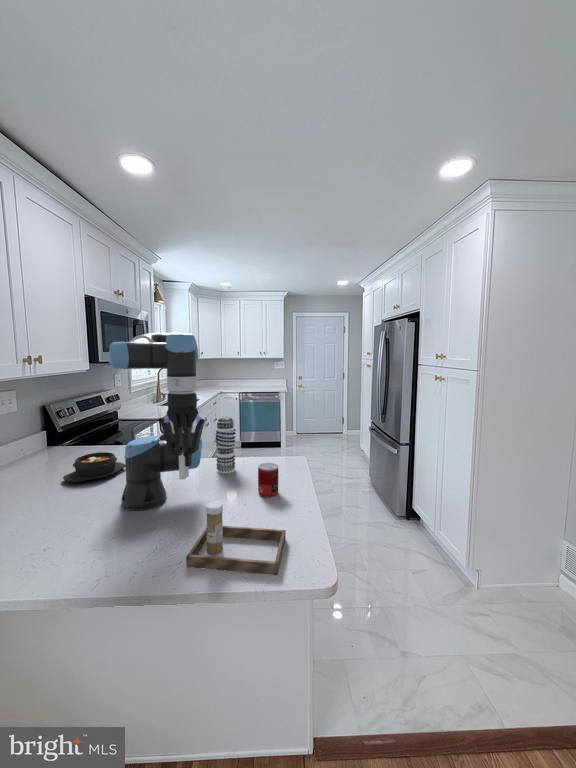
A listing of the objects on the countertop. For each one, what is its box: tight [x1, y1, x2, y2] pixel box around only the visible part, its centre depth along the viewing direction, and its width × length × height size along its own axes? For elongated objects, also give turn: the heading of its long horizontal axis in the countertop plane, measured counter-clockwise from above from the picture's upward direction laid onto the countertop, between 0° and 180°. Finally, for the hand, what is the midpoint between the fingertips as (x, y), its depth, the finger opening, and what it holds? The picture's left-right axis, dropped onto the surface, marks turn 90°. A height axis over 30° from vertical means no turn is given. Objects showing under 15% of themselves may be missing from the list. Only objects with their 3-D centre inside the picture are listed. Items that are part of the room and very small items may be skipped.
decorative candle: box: [215, 416, 237, 475], centre depth 152 cm, size 9×9×25 cm
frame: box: [185, 525, 287, 576], centre depth 90 cm, size 24×16×3 cm, turn 83°
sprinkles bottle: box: [205, 500, 224, 556], centre depth 91 cm, size 5×5×14 cm
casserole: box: [62, 451, 126, 483], centre depth 146 cm, size 25×19×8 cm
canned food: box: [257, 462, 279, 498], centre depth 129 cm, size 8×8×11 cm
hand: (184, 477), depth 90 cm, fingers closed
